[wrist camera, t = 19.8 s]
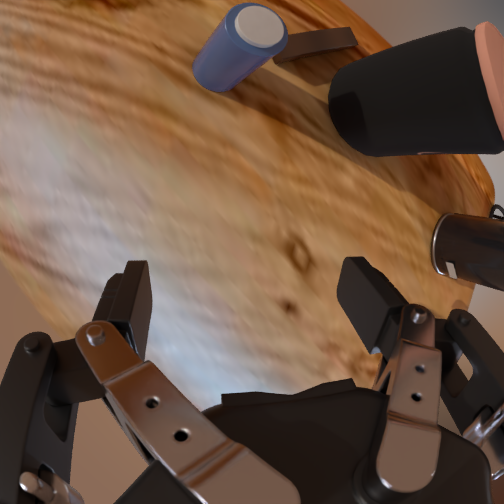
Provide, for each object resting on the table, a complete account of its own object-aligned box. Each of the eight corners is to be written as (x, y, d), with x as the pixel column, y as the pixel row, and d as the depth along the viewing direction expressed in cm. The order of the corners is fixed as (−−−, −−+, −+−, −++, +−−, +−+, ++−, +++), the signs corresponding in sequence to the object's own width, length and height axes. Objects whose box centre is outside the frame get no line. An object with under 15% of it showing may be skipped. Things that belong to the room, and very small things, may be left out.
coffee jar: (363, 177, 31) (523, 184, 15) (304, 98, 26) (476, 45, 10) (402, 122, 32) (532, 112, 16) (354, 51, 28) (490, 8, 12)
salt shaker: (228, 42, 22) (274, -5, 15) (249, 83, 24) (302, 46, 16) (184, 56, 21) (216, 4, 13) (205, 99, 23) (246, 60, 15)
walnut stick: (341, 31, 27) (349, 26, 25) (350, 48, 27) (359, 44, 26) (264, 43, 24) (272, 37, 22) (275, 64, 24) (283, 59, 23)
